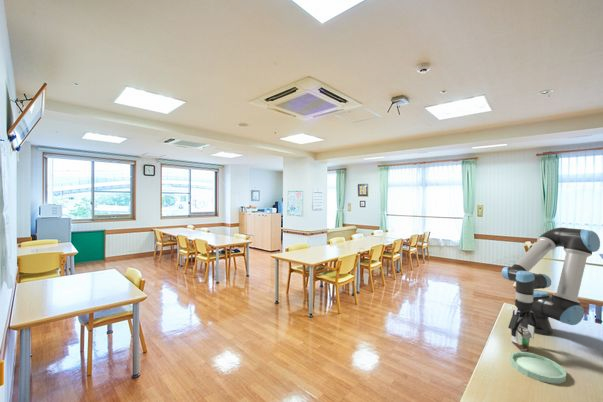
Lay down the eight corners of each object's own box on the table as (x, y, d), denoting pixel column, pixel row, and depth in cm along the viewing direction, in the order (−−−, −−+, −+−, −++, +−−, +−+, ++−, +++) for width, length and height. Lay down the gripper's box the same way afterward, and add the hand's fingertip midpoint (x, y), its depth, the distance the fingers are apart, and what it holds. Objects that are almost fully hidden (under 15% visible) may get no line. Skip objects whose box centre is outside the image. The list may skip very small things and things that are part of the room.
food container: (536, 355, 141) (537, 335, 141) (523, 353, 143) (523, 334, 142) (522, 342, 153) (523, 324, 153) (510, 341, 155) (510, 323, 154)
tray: (526, 353, 143) (526, 348, 143) (576, 377, 124) (576, 371, 124) (500, 361, 136) (500, 356, 136) (549, 388, 117) (549, 382, 117)
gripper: (530, 295, 155) (529, 332, 156) (501, 300, 146) (499, 340, 147) (546, 300, 148) (545, 339, 149) (516, 306, 139) (515, 347, 140)
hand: (522, 339), depth 148 cm, fingers open, 13 cm apart
